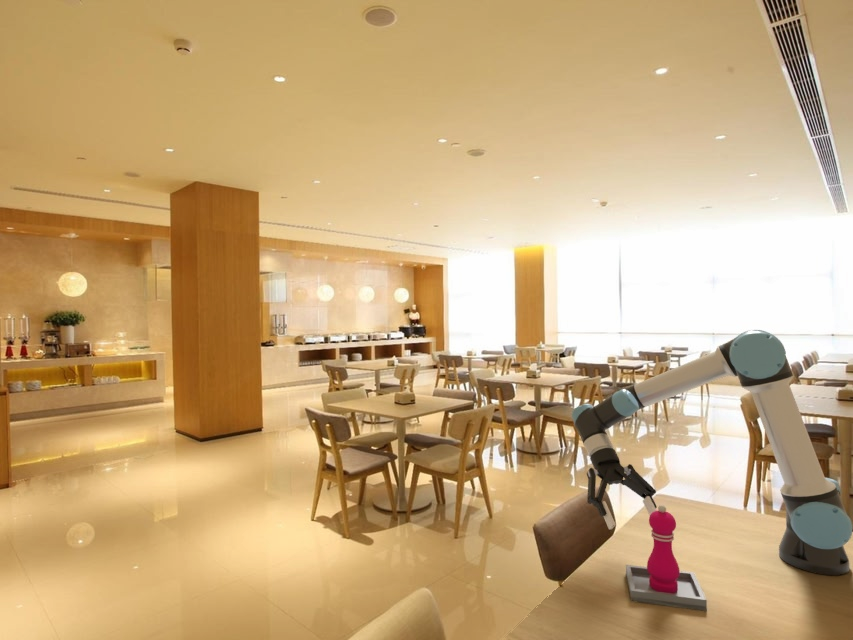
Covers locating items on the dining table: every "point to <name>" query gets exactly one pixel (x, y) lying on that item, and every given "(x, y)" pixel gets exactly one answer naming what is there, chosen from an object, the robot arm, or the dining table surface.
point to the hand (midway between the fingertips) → (635, 524)
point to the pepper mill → (662, 553)
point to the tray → (685, 596)
